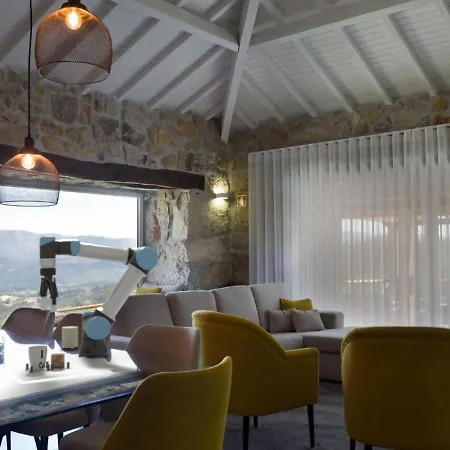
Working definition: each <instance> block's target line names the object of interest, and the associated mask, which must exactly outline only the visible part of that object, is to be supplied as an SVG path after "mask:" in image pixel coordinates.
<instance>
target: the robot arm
mask: <svg viewBox="0 0 450 450" xmlns="http://www.w3.org/2000/svg"><path fill="white" fill-rule="evenodd" d="M38 247H39V261H38V263H39V267H40V269H39V275H40V276H41V277H40V287H39V294H38V295H39V296H40V311H48V298H47V297H48V295H47V294H48V291H49V295H50V296H49V300H50V302H49V306H50V309H49V310H50V313H56V312H58V311H57V298H58V297H59V292H58V287H57V283H56V281H57V280H56V277H53V276H56V275H57V268H56V267H57V259H56V257H57V256H70V257H79V258H85V259H93V260H102V261H107V262H108V261H109V262H115V263H123V265H124V266H127V269H126V271H125V272H124V274H123V275H122V276H121V277H120V279H119V281H118V282H117V283H116V284H115V287H114V288H113V289H112V290H111V292H110V293H109V294H108V296H107V298H106V299H105V300H104V302H103V303H102V304H101V305H100V307H96V308H95V309H94V310H93V311H85V312H83V313H82V315H81V324H82V325H81V330H82V331H81V344H80V346H79V350H78V358H84V357H85V358H87V359H98V358H99V359H100V358H105V357H107V355H108V356H109V350H108V346H107V343H106V337H107V336H108V335H109V334H110V332H111V328H112V327H113V325H114V324H115V322H116V316H117V314H118V313H119V311H120V309H121V308H122V307H123V305H124V304H125V303H126V301H127V300H128V298H129V297H130V295H131V294H132V293H133V291H134V290H135V288H136V286H137V285H138V284H139V283H140V281H141V279H142V278H146V277H147V276H148V275H149V273H150V272H151V270H153V269H154V268H155V267H156V266H157V265H158V262H159V255H158V253H157V251H156V250H155V249H154V248H152V247H150V246H148V245H147V246H141V247H129V246H127V247H126V248H120V247H116V246H115V247H114V246H107V245H99V244H95V243H86V242H81V241H80V239H73V238H72V239H57V238H56V236H55V235H46V236H43V235H42V236H40V237H39V246H38Z"/></svg>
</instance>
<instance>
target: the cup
mask: <svg viewBox="0 0 450 450" xmlns="http://www.w3.org/2000/svg"><path fill="white" fill-rule="evenodd" d="M47 357H48V346H47V345H34V346H28V359H29V366H33V370H34V371H37V370H43V369H44V367H45V366H46V361H47Z"/></svg>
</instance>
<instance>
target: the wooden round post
mask: <svg viewBox="0 0 450 450" xmlns="http://www.w3.org/2000/svg"><path fill="white" fill-rule="evenodd" d="M65 358H66V356H65V353H63V352H56V353H55V352H54V353H51V354H50V365H51V364H53V369H59V368H64V367H65V365H66V364H65Z"/></svg>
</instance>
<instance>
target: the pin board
mask: <svg viewBox="0 0 450 450" xmlns="http://www.w3.org/2000/svg"><path fill="white" fill-rule="evenodd" d="M49 362H50V361H48V360H46V363H45V367H44V369H43V370H37V371H34V370H33V366H31V365H30V363H25V368H24V370H25V371H27V372H28V373H29V374H36V373H37V374H39V373H47V372H55V371H64V370H72V369H73V368H72V367H70V366H71V365H70V361H67V362H66V364H65V367H64V368H59V369H53V364H51V363H49Z"/></svg>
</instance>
